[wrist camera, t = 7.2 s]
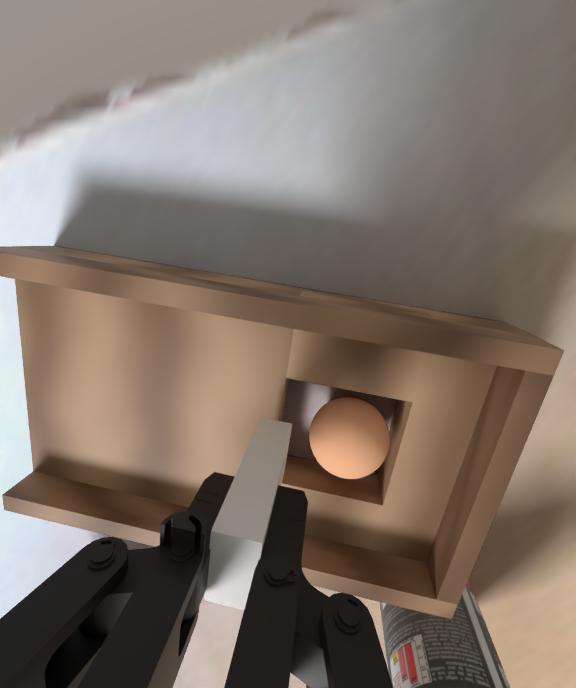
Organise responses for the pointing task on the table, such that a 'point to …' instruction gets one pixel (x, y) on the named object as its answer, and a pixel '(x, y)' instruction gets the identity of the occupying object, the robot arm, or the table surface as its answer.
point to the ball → (349, 438)
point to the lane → (268, 411)
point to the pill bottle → (441, 648)
